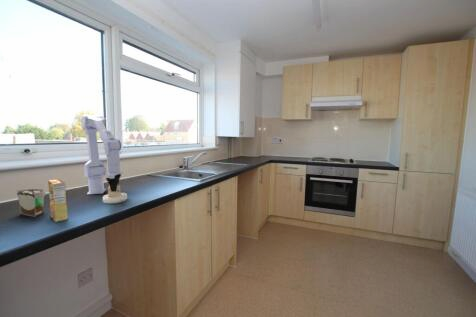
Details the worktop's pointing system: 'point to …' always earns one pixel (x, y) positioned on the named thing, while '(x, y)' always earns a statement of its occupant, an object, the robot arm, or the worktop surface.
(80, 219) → the worktop surface
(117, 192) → the beech block
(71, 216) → the worktop surface
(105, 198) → the ceramic plinth
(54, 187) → the candy box
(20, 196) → the food container
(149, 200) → the worktop surface
